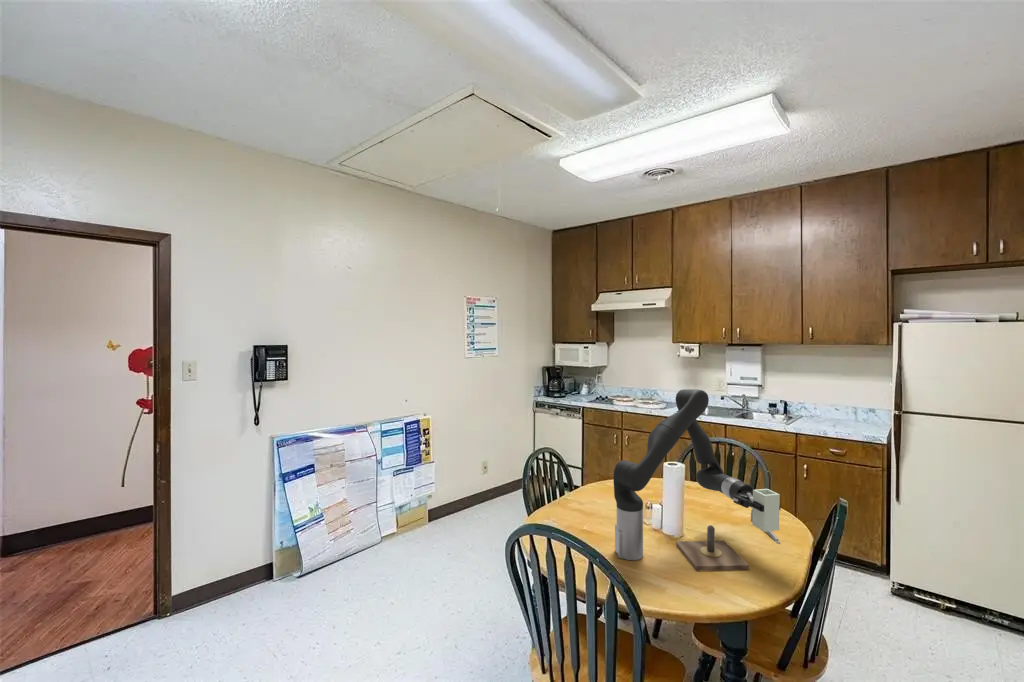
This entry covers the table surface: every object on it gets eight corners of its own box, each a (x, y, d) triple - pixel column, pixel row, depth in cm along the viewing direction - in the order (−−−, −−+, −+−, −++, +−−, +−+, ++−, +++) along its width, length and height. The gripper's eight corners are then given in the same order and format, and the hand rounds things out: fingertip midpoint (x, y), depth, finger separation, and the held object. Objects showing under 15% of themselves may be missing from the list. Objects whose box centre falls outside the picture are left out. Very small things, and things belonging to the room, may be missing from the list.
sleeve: (764, 531, 156) (764, 495, 155) (752, 524, 161) (753, 489, 161) (778, 530, 157) (779, 494, 156) (766, 523, 162) (767, 488, 162)
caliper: (750, 521, 197) (750, 506, 197) (753, 521, 197) (753, 506, 197) (777, 544, 176) (777, 527, 176) (780, 544, 176) (780, 527, 176)
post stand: (696, 570, 158) (696, 537, 157) (676, 545, 176) (676, 515, 175) (749, 569, 158) (749, 536, 158) (723, 544, 176) (724, 514, 176)
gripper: (720, 481, 171) (752, 498, 154) (755, 479, 174) (790, 495, 157) (719, 502, 171) (752, 521, 155) (754, 499, 174) (790, 517, 158)
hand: (771, 508), depth 156 cm, fingers closed on sleeve, 5 cm apart
